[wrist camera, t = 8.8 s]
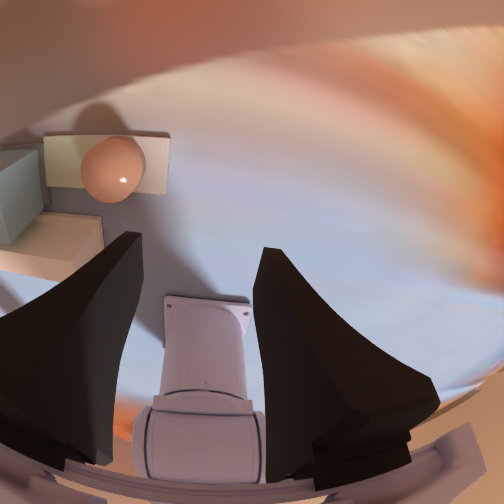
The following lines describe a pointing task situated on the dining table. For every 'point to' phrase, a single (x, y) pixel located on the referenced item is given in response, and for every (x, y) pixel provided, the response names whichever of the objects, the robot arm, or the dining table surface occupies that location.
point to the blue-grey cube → (18, 192)
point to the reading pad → (41, 162)
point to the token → (113, 169)
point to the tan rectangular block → (53, 246)
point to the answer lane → (76, 146)
